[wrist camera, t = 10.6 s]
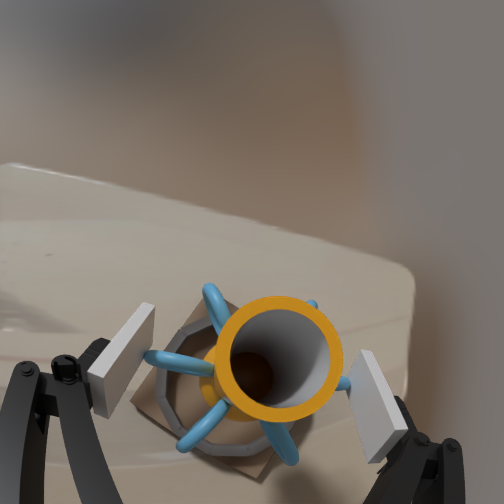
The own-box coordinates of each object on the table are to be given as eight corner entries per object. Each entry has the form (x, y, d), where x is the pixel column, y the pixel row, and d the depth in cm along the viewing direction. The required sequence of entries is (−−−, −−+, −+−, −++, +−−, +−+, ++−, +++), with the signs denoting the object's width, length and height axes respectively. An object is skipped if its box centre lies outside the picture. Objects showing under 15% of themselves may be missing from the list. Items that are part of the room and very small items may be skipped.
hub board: (132, 401, 31) (124, 401, 28) (209, 293, 40) (208, 284, 36) (254, 475, 29) (258, 482, 26) (323, 361, 37) (332, 358, 34)
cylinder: (152, 429, 19) (64, 469, 6) (175, 307, 24) (136, 190, 11) (306, 449, 19) (424, 494, 6) (318, 330, 24) (425, 246, 11)
